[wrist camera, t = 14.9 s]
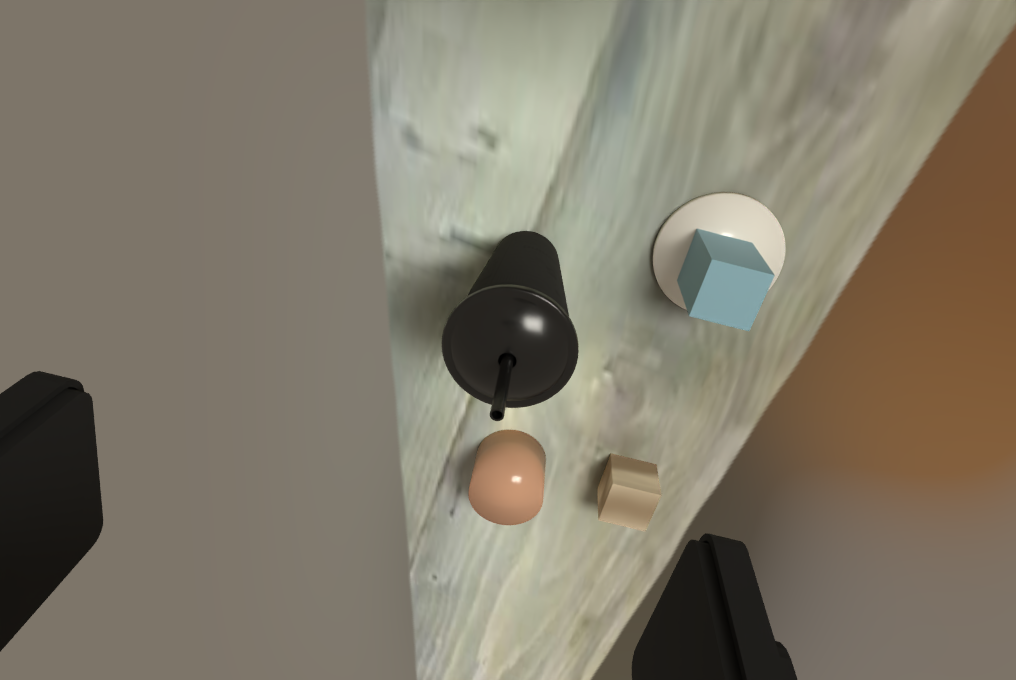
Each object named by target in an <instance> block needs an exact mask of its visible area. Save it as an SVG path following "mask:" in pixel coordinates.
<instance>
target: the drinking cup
mask: <svg viewBox="0 0 1016 680" xmlns="http://www.w3.org/2000/svg"><path fill="white" fill-rule="evenodd" d="M442 353H443V357H444V361H445V364H446V366H447V368H448V370H449V372H450V374H451V376H452V377H453V378H454V380H455V381H456V382H457V383H458V385H459V386H460V387H461V388H463V389H464V390H465V391H466V392H467V393H469V394H470V395H472V396H473V397H475V398H477V399H479V400H481V401H483V402H485V403H488V404H491V405H492V406H491V411H490V417H491V419H493V420H495V421H500V420H502V419H503V418H504V413H505V407H507V408H519V407H527V406H531V405H535V404H538V403H541V402H543V401H545V400H547V399H549V398H551V397H552V396H554V395H555V394H556V393H558V392H559V391H560V390H561V389H562V388H563V387H564V386H565V385H566V383H567V382H568V381H569V379H570V378H571V376H572V374H573V372H574V370H575V367H576V364H577V359H578V338H577V334H576V330H575V328H574V325H573V323H572V321H571V319H570V318H569V314H568V308H567V303H566V297H565V292H564V286H563V281H562V275H561V270H560V264H559V259H558V254H557V252H556V249H555V247H554V246H553V244H552V243H551V242H550V241H549V240H548V239H547V238H545V237H544V236H542V235H540V234H538V233H535V232H530V231H520V232H516V233H513V234H511V235H509V236H507V237H506V238H504V239H503V240H502V241H501V242H500V244H499V245H498V246H497V248H496V250H495V251H494V253H493V255H492V256H491V258H490V259H489V261H488V263H487V264H486V266H485V268H484V269H483V271H482V272H481V274H480V276H479V277H478V279H477V281H476V282H475V284H474V285H473V287H472V289H471V290H470V292H469V294H468V295H467V297H466V298H465V299H463V300H462V301H461V302H460V303H459V304H458V305H457V306H456V307H455V309H454V310H453V311H452V313H451V314H450V316H449V318H448V320H447V322H446V324H445V328H444V331H443V335H442Z"/></svg>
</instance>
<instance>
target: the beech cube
mask: <svg viewBox="0 0 1016 680" xmlns="http://www.w3.org/2000/svg"><path fill="white" fill-rule="evenodd" d="M597 494H598V520H600V521H604V522H608V523H613V524H617V525H621V526H625V527H629V528H633V529H637V530H642V531H646V529H647V527H648V524H649V522H650V520H651V518H652V516H653V513H654V511H655V509H656V507H657V504H658V502H659V500H660V498H661V490H660V484H659V478H658V472H657V465H656V464H652V463H648V462H644V461H640V460H636V459H632V458H628V457H623V456H619V455H615V454H610V457H609V459H608V462H607V465H606V467H605V470H604V472H603V475H602V478H601V480H600V483H599V486H598V488H597Z"/></svg>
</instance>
